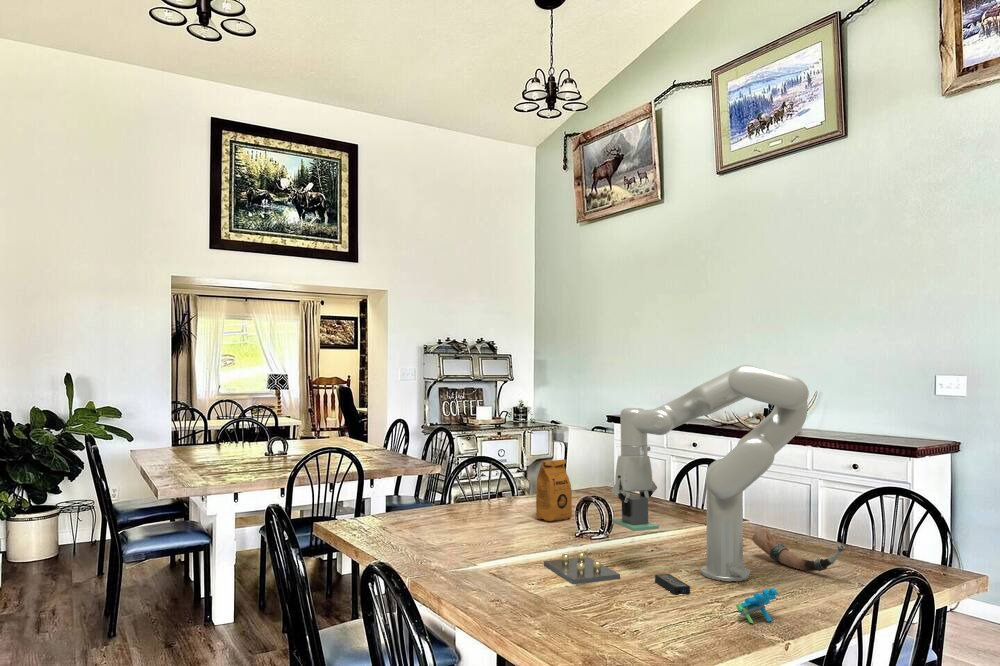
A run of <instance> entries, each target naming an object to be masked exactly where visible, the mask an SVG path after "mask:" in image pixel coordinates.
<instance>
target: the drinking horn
mask: <svg viewBox="0 0 1000 666" xmlns="http://www.w3.org/2000/svg"><path fill="white" fill-rule="evenodd" d="M751 540H752V542H753V543H754V544H755V545H756V546H757V547H758V548H759V549H761V550H762V551H763V552H764V553H765V554H767V555H768V556H769V558H771V559H772V560H774V561H775V562H777V563H779V564H783V565H785V566H788V567H790V568H792V567H793V568H792V569H795V568H796V570H799V569H800V571H807V572H814V571H816V572H817V571H819V572H823V571H824V570H827V569H828V567H830V566H831V565H834V563H835V562H836V561H837V560H838V558H839V557H840V555H841V554H842V552H843V551H845V550H846V547H845V546H844V545H843V544H840V543H839V544H838V545H837V548H838V549H837V550H836V551H835V552H834V553H833V554H832V555H830V556H826V558H821V557H819V556H818V557H817V559H815V560H809V559H805V558H802V557H800V556H798V555H796V554H794V553H793V552H791V551H789V549H788V548H787V547H786V546H785V544H783V543H780V542H779V541H778V540H777V539H776V538H775V537H774V536H773V535H772V533H771V532H770V531H769V530H768V528H762V529H760V530H757V531H756V532H755V533H754V535H752V538H751Z"/></svg>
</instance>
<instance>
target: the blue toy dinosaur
mask: <svg viewBox="0 0 1000 666" xmlns="http://www.w3.org/2000/svg"><path fill="white" fill-rule="evenodd" d="M778 592H779V591H777V589H775V587H771V588H770V589H768V588H766V589H763V590H762V593H760V592H755V593H754V594H753V597H747V598H745V599H744V602H741V603H740V602H739V603H737V604H735V605H736V606H735V607H736V608H737V609H736V610H737V611H738V613H740V614H741V615H743V616H745V617H746V619H747V620H748V622H749V624H750V623H753V624H754V621H753V619H752V618H751V616H750V614H753V613H757V612H759V611H760V612H761V614H762V615H763V617H764V618H765V621H768V622H769V623H771V622H773V619H772V617H771V616H770V615H769V612H767V610H766V606H767V605H768V604H769V603H771V600H775V599H776V597H777V595H778V594H779V593H778ZM765 605H766V606H765ZM770 621H771V622H770ZM768 622H767V623H768Z"/></svg>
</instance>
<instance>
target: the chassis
mask: <svg viewBox="0 0 1000 666" xmlns="http://www.w3.org/2000/svg"><path fill="white" fill-rule="evenodd" d="M601 563H602V562H601V561H600V560H594V559H593V558H590V557H589V556H586V555H585V552H581V551H580V552H579V551H578V552H577V557H572V558H570V554H567V553H563V554H561V559H552V560H544V561H543V565H544V567H546V568H547V569H548V570H550V569H551V570H550V571H552V572H554V573H555V574H557V575H558V574H559V576H560V577H562V578H563V579H564V580H566V581H568V582H570V583H571V584H572V585H580V584H587V583H588V584H589V583H596V582H597V583H598V582H605V581H613V580H620V579H621V573H618V572H617V571H615V570H613V569H611V568H609V567H607V566H605V565H603V564H601Z"/></svg>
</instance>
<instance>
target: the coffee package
mask: <svg viewBox="0 0 1000 666" xmlns="http://www.w3.org/2000/svg"><path fill="white" fill-rule="evenodd" d="M566 463H567V461H566V459H565V458H564V459H556V460H543V461H542V462H541V464H540V468H539V470H538V474H537V477H536V492H535V495H536V496H535V497H536V499H535V502H536V503H535V505H536V507H535V509H536V510H535V512H536V519H537V518H538V519H537V520H541V519H544V520H543V521H546V522H554V521H553V520H557V521H563V520H562V519H565V520H569V519H568V518H570V519H571V518H572V517H573V508H572V507H573V506H572V505H573V502H572V500H573V499H572V496H573V495H572V493H573V489H572V485H571V481H570V478H569V476H568V474H567V469H566V466H565V464H566Z"/></svg>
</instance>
